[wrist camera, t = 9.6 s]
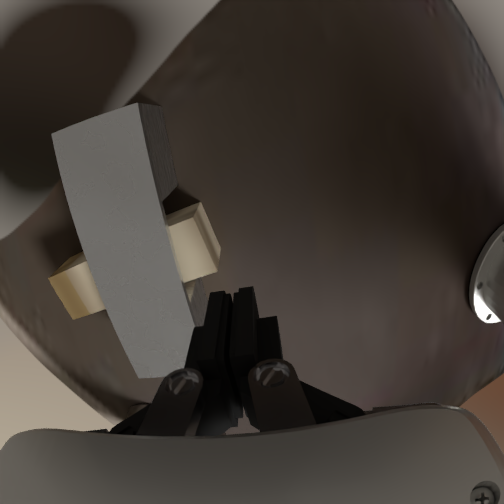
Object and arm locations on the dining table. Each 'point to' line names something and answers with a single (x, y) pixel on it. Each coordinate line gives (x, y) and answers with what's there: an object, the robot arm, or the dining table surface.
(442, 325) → the dining table surface
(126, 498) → the robot arm
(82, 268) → the bar
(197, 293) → the housing
